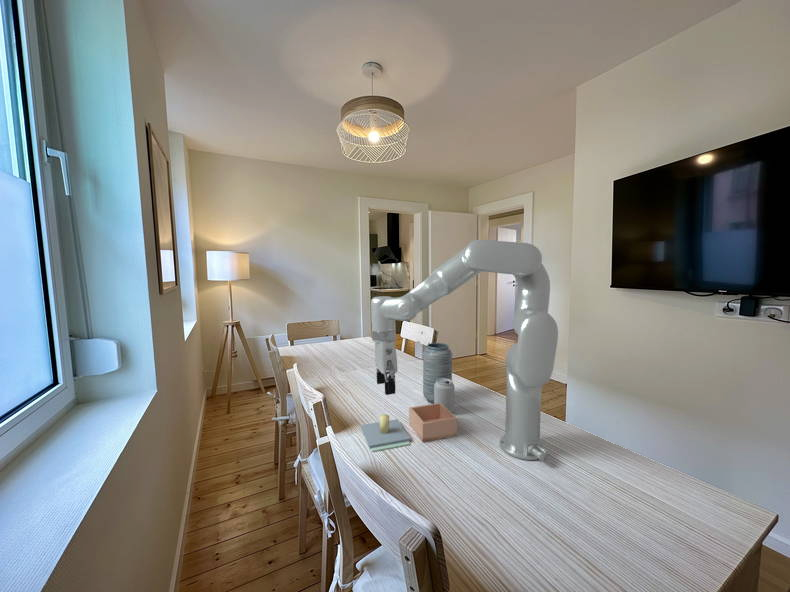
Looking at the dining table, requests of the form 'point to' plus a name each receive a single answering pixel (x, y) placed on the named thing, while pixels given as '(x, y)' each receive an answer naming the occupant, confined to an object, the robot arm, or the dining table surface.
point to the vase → (435, 367)
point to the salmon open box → (432, 422)
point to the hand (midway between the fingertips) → (385, 388)
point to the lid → (384, 432)
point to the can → (444, 393)
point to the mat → (390, 446)
